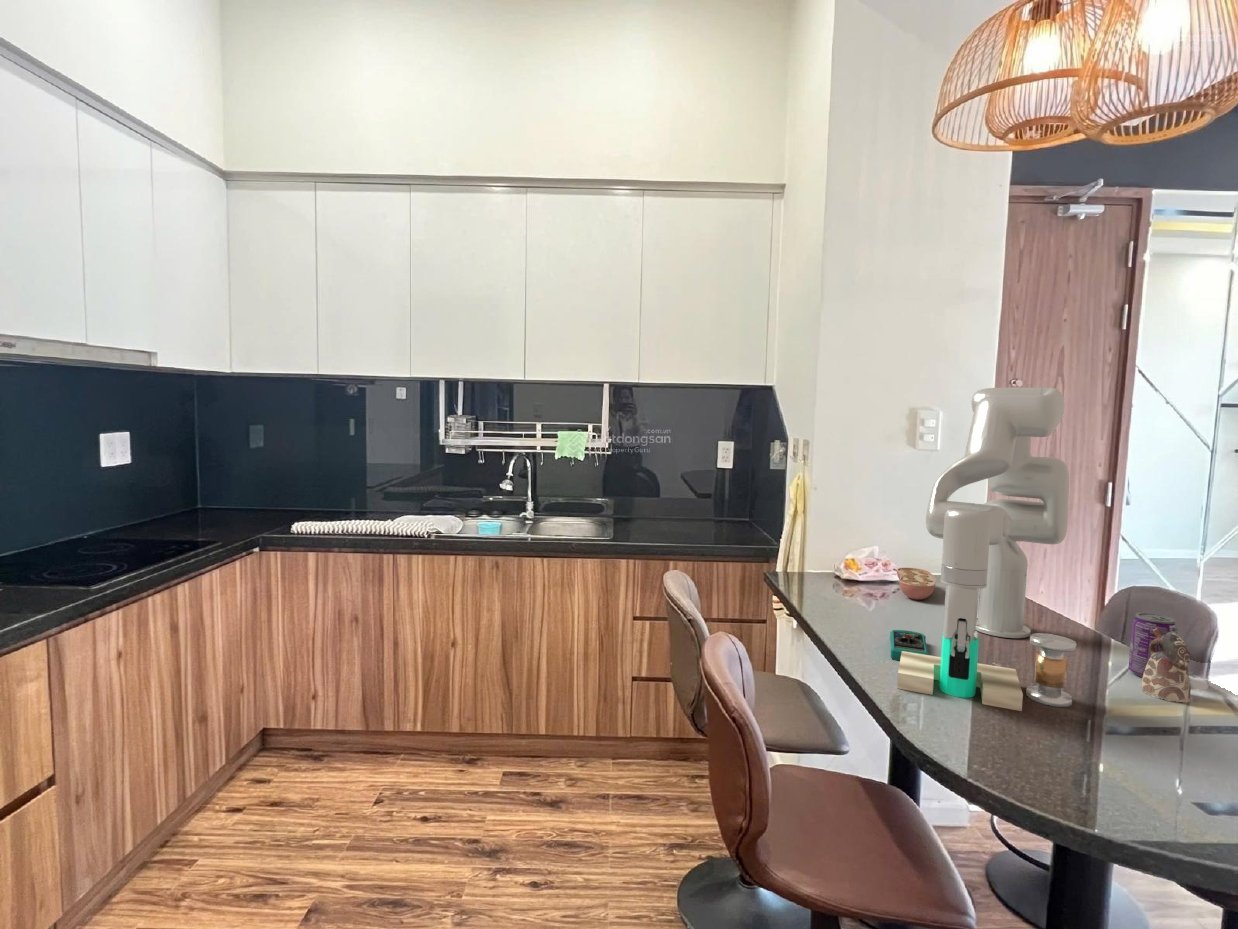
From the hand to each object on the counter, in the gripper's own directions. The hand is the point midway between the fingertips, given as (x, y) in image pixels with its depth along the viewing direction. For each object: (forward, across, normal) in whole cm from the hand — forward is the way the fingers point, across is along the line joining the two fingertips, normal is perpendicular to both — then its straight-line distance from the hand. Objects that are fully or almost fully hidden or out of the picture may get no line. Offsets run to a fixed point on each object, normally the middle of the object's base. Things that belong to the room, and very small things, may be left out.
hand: (958, 670), depth 123 cm
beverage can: (+4, -27, +35) cm, 45 cm away
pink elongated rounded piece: (+4, -73, -9) cm, 74 cm away
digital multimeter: (+5, -19, -9) cm, 22 cm away
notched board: (+4, -2, 0) cm, 5 cm away
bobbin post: (+4, -4, +15) cm, 16 cm away
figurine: (+4, -17, +35) cm, 39 cm away
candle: (+4, 0, 0) cm, 4 cm away
